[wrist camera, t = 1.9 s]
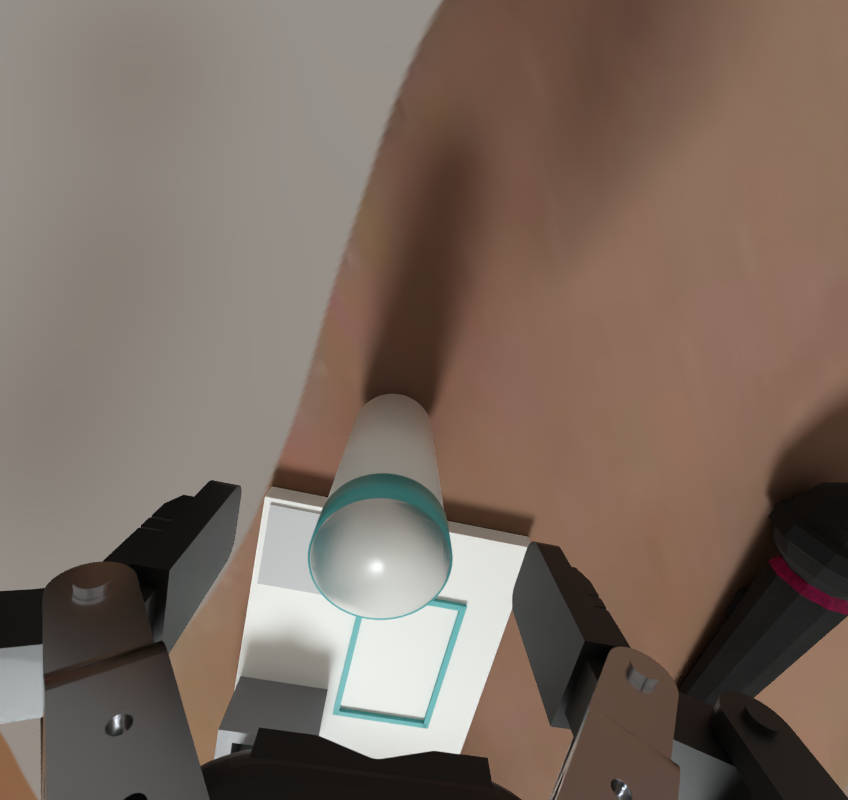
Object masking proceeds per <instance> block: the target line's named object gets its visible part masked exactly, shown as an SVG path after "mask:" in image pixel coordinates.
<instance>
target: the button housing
mask: <svg viewBox="0 0 848 800" xmlns="http://www.w3.org/2000/svg"><path fill="white" fill-rule="evenodd" d="M327 691H328V689H322V688H315V687H309V686H302V685H295V684H289V683H282V682H276V681H269V680H263V679H256V678H250V677H243V676H240V679H239V681H238V684H237V686H236V689H235V691H234V693H233V696H232V698H231V701H230V703H229V705H228V708H227V710H226V713H225V715H224V718H223V720H222V722H221V725H220V727H219V730H218V736H217V743H216V750H215V756H214V759H217V758H219V757H222V756H225V755H228V754H232V753H236V752H239V751H240V750H241V748H242V746H243V745H244V744H245V745H252V746H253V745H254V742H255V738H256V735H257V732H258V729H259V727H260V728H267V729H275V730H282V731H290V732H297V733H305V734H312V735H318V736H319V732H320V727H321V722H322V717H323V712H324V706H325V701H326V696H327Z"/></svg>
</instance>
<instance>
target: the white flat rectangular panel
mask: <svg viewBox="0 0 848 800" xmlns="http://www.w3.org/2000/svg"><path fill="white" fill-rule="evenodd" d="M327 499H328V497H324V496H319V495H313V494H308V493H303V492H298V491H293V490H288V489H283V488H278V487H273V486H272V487H271V488H270V490H269V491H268V493H267V494H266V496H265V501H264V507H263V513H262V520H261V526H260V532H259V539H258V545H257V551H256V558H255V564H254V570H253V576H252V583H251V589H250V595H249V602H248V608H247V614H246V620H245V627H244V633H243V639H242V646H241V652H240V658H239V665H238V671H237V677H236V683H235V689H236V686H237V684H238V681H239V679H240V676H243V677H250V678H256V679H263V680H269V681H276V682H282V683H289V684H295V685H302V686H309V687H315V688H322V689H328V691H327V696H326V701H325V706H324V712H323V717H322V722H321V727H320V732H319V736H321V737H323V738H325V739H328V740H330V741H332V742H335V743H337V744H339V745H342V746H344V747H346V748H349V749H351V750H354V751H356V752H358V753H361V754H363V755H365V756H368V757H370V758H373V759H384V758H390V757H397V756H403V755H410V754H416V753H423V752H429V751H439V752H446V753H454V754H460V752H461V750H462V747H463V744H464V741H465V738H466V736H467V733H468V730H469V727H470V725H471V722H472V719H473V716H474V713H475V711H476V708H477V705H478V702H479V699H480V697H481V694H482V691H483V688H484V685H485V683H486V680H487V677H488V674H489V671H490V669H491V666H492V663H493V660H494V657H495V655H496V652H497V649H498V646H499V643H500V641H501V638H502V635H503V632H504V629H505V627H506V624H507V621H508V618H509V615H510V613H511V610H512V594H513V589H514V585H515V582H516V579H517V576H518V573H519V571H520V568H521V565H522V562H523V559H524V556H525V553H526V550H527V547H528V545H529V544H530V543H531V542H530V540H529V538H528V536H522V535H517V534H512V533H507V532H502V531H497V530H492V529H487V528H482V527H477V526H471V525H466V524H461V523H456V522H451V521H447V522H448V528H449V534H450V540H451V547H452V556H453V561H452V569H451V573H450V576H449V579H448V581H447V583H446V585H445V587H444V588H443V590H442V591H441V592H440V594H439V595H438V596H437V597H436V598H435V599H434V600H433V601H432V602H431V603H429V604H428V605H427V606H426V607H424V608H422V609H421V610H419V611H417V612H415V613H413V614H410V615H407V616H404V617H401V618H396V619H389V620H372V619H364V618H360V617H356V616H353V615H350V614H348V613H346V612H344V611H342V610H340V609H338V608H337V607H335V606H334V605H332V604H331V603H330V602H329V601H327V600H326V599H325V598H324V596H323V595H322V594H321V593H320V592H319V590H318V589H317V588H316V586H315V584H314V582H313V580H312V578H311V575H310V572H309V567H308V549H309V545H310V541H311V538H312V535H313V532H314V530H315V527H316V524H317V521H318V519H319V516H320V513H321V511H322V509H323V506H324V505H325V503H326V501H327ZM234 691H235V690H234Z"/></svg>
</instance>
